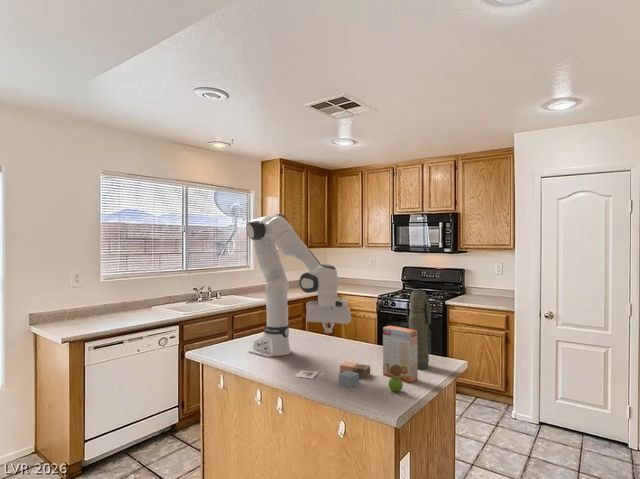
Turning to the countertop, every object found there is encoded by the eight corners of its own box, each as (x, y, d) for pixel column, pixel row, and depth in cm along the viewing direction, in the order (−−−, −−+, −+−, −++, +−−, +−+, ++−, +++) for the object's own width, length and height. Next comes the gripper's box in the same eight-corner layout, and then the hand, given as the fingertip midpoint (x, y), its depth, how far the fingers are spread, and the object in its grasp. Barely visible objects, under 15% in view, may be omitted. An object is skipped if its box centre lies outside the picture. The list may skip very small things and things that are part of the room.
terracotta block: (340, 374, 169) (340, 365, 169) (345, 370, 175) (345, 361, 175) (353, 376, 167) (353, 367, 167) (357, 372, 172) (357, 363, 172)
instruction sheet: (294, 376, 166) (294, 375, 166) (301, 370, 173) (301, 370, 173) (312, 379, 163) (312, 378, 163) (318, 372, 171) (318, 371, 171)
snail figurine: (386, 387, 153) (386, 357, 153) (403, 389, 151) (403, 358, 151) (385, 392, 148) (384, 361, 148) (402, 394, 146) (402, 363, 146)
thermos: (427, 371, 172) (427, 292, 172) (402, 366, 179) (402, 290, 179) (434, 366, 179) (434, 290, 179) (410, 361, 186) (410, 288, 186)
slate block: (338, 384, 158) (338, 374, 158) (346, 380, 162) (346, 370, 162) (350, 387, 154) (350, 377, 154) (358, 383, 159) (358, 373, 159)
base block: (352, 377, 166) (352, 367, 166) (357, 372, 171) (357, 363, 171) (366, 379, 163) (366, 369, 163) (370, 374, 169) (370, 365, 169)
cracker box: (418, 379, 162) (418, 329, 162) (410, 383, 158) (410, 332, 158) (390, 371, 172) (390, 324, 172) (382, 374, 168) (382, 326, 168)
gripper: (303, 301, 172) (303, 332, 172) (348, 303, 166) (348, 335, 166) (308, 299, 178) (308, 329, 178) (351, 301, 172) (352, 332, 172)
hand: (328, 332), depth 172 cm, fingers closed
